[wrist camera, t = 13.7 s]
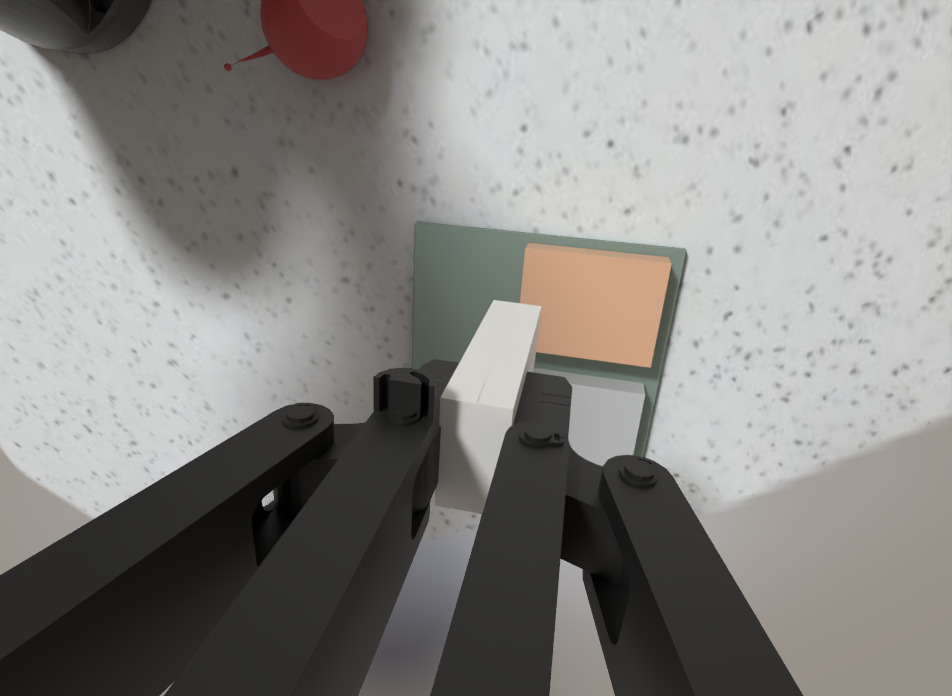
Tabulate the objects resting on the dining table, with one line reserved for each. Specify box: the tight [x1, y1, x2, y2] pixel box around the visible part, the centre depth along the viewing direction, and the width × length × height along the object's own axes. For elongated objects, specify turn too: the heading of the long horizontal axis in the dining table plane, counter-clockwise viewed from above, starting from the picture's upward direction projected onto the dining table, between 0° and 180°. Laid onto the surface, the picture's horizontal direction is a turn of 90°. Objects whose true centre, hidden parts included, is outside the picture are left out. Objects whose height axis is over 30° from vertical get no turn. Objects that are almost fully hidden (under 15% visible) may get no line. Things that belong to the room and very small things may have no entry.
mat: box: [412, 222, 686, 457], centre depth 40 cm, size 18×17×1 cm
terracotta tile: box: [520, 243, 672, 368], centre depth 37 cm, size 2×7×9 cm
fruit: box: [224, 0, 367, 80], centre depth 33 cm, size 6×6×8 cm
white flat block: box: [533, 368, 645, 466], centre depth 40 cm, size 2×7×9 cm
